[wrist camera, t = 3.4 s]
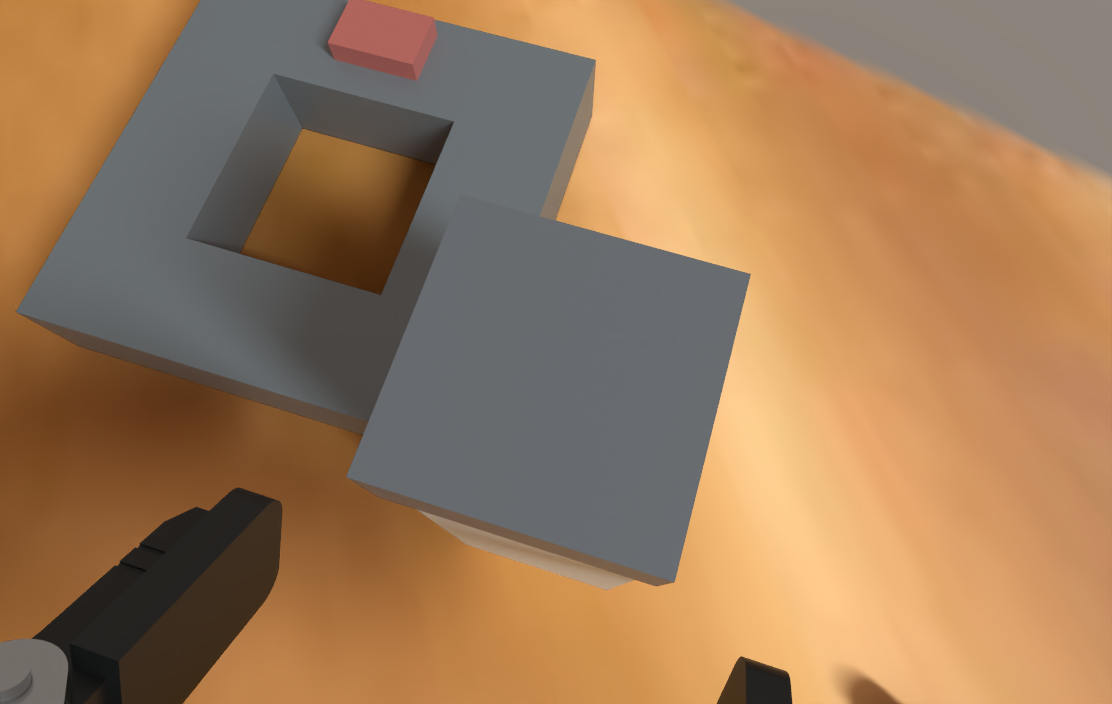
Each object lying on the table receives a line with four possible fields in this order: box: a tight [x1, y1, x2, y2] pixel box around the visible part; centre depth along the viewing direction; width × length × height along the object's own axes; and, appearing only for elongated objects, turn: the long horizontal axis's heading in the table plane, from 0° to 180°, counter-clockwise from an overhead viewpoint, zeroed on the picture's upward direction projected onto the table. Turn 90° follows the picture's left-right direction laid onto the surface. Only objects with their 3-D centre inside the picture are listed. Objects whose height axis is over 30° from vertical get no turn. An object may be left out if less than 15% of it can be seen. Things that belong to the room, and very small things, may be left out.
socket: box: [16, 0, 596, 435], centre depth 25 cm, size 14×14×4 cm
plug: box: [346, 195, 751, 590], centre depth 17 cm, size 5×5×13 cm
